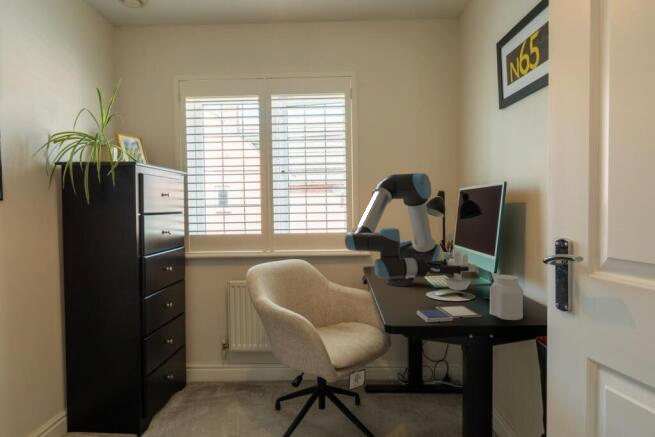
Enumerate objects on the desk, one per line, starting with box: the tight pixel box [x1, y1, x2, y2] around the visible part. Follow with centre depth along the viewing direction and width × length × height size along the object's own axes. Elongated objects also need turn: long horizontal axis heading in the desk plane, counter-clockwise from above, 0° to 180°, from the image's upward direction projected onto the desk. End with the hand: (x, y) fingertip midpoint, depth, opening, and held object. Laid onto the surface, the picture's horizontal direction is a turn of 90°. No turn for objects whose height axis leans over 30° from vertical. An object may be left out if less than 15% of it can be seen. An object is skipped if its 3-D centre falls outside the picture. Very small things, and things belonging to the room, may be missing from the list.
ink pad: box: [416, 309, 454, 323], centre depth 136 cm, size 10×10×2 cm
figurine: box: [444, 250, 472, 291], centre depth 142 cm, size 7×9×15 cm
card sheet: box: [435, 304, 483, 319], centre depth 143 cm, size 14×12×1 cm
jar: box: [489, 274, 524, 321], centre depth 137 cm, size 12×10×15 cm
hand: (468, 265), depth 142 cm, fingers closed on figurine, 9 cm apart
